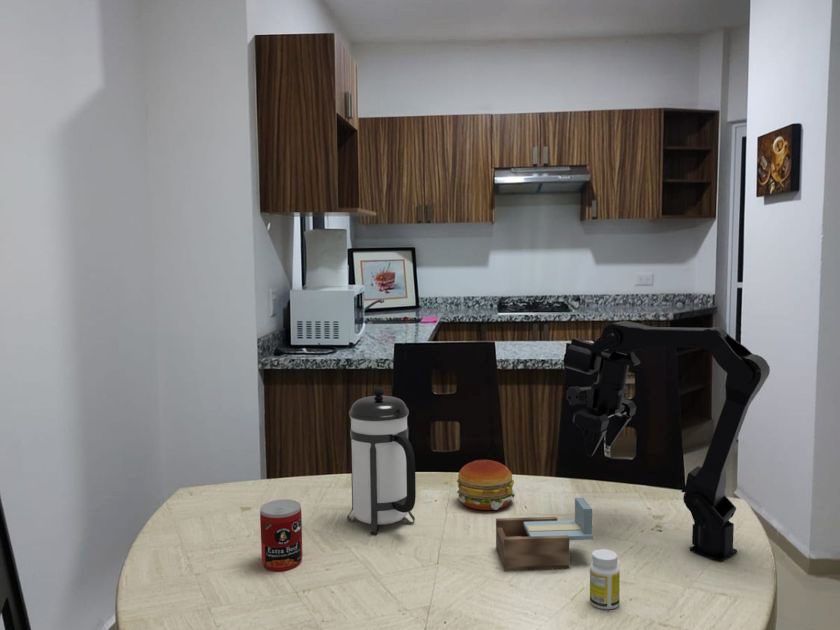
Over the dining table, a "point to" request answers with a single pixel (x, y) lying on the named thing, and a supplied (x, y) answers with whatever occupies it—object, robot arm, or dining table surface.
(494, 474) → the burger
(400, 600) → the dining table surface
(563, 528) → the lid
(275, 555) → the canned food
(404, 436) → the coffee press
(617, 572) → the supplement bottle
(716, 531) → the robot arm
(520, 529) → the pencil box
